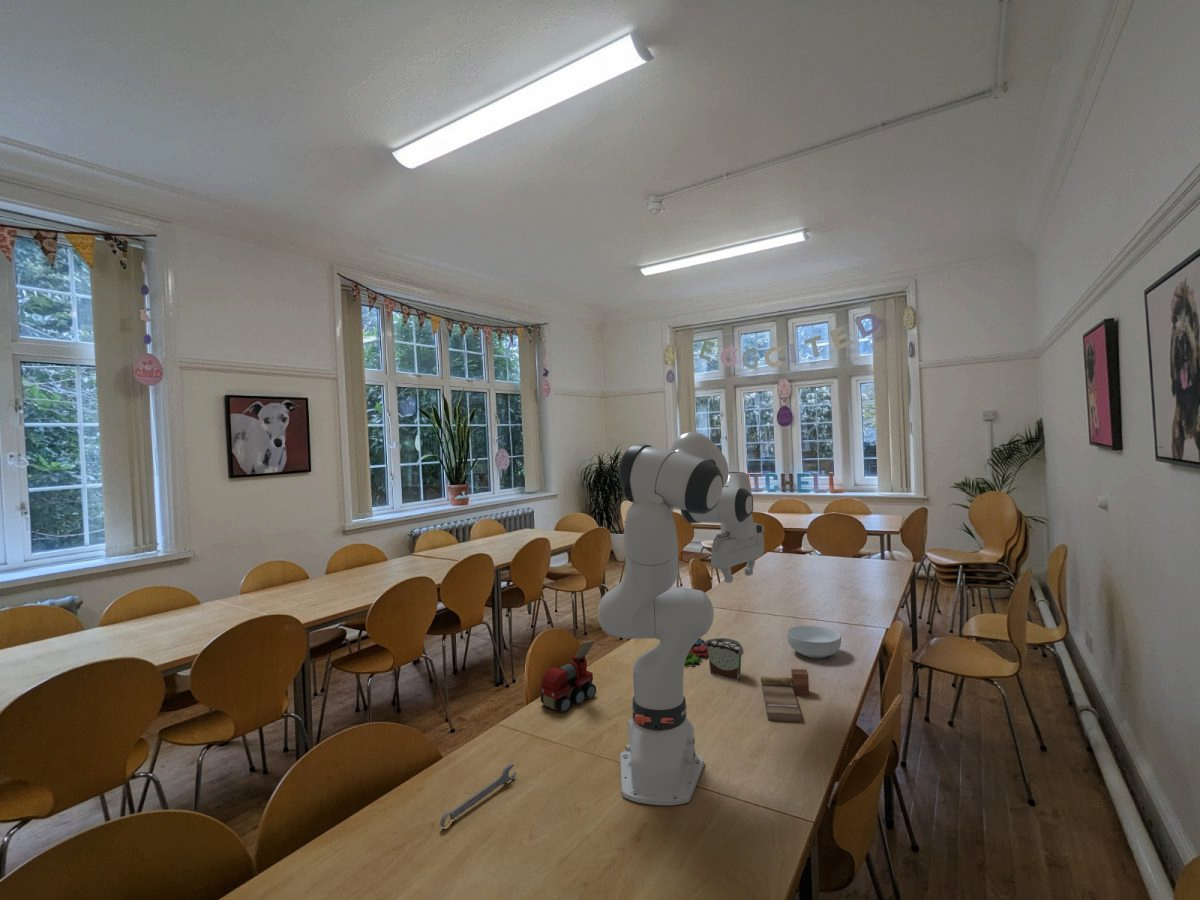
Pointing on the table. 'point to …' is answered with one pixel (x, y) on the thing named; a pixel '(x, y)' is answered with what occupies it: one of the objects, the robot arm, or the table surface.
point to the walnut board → (780, 702)
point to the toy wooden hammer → (792, 681)
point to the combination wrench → (480, 794)
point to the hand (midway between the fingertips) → (739, 578)
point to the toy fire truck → (568, 682)
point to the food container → (725, 657)
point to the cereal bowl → (814, 640)
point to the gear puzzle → (696, 653)
